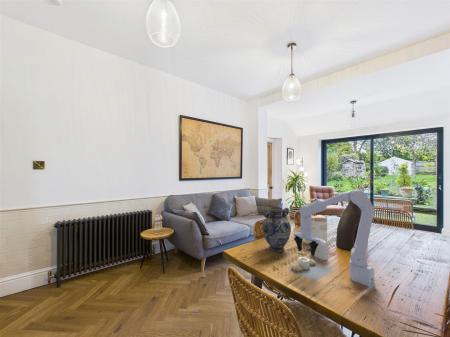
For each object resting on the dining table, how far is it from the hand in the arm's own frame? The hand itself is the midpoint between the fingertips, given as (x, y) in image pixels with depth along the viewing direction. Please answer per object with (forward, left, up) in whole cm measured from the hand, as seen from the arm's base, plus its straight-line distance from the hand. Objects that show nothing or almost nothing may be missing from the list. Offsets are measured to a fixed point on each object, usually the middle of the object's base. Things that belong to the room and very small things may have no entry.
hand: (306, 253), depth 110 cm
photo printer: (+3, -18, -9) cm, 21 cm away
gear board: (-3, +1, -9) cm, 9 cm away
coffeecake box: (+20, -42, -9) cm, 48 cm away
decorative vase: (+28, -9, -9) cm, 31 cm away
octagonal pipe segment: (+1, +1, -7) cm, 7 cm away
